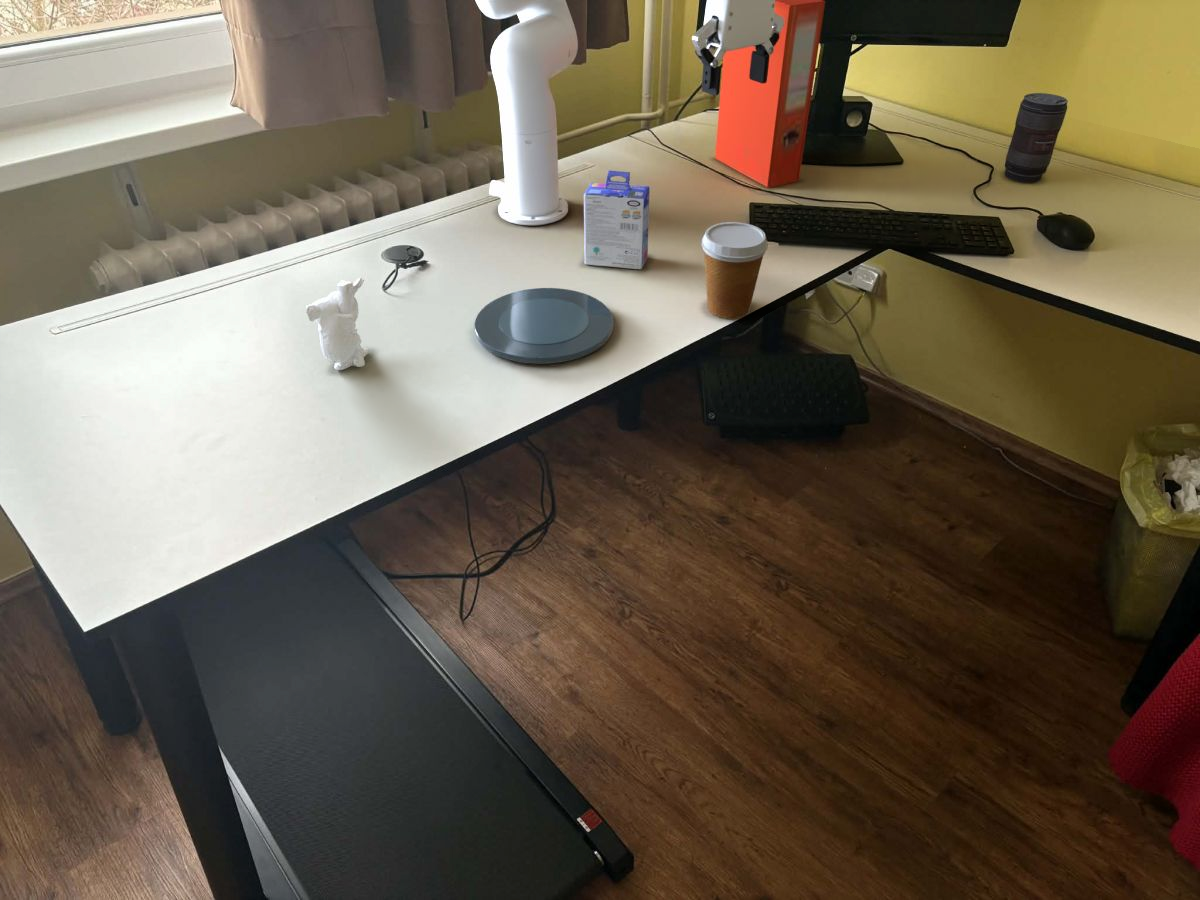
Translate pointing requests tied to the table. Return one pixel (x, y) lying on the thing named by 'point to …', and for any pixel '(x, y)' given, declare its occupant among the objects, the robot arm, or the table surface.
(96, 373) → the table surface
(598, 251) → the ink cartridge box
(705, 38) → the robot arm
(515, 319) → the plate
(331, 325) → the white upright lumpy figure
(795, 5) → the file binder
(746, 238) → the disposable coffee cup
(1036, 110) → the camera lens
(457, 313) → the table surface
